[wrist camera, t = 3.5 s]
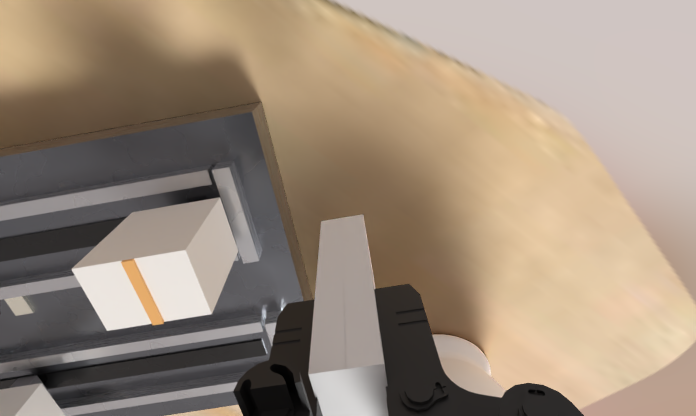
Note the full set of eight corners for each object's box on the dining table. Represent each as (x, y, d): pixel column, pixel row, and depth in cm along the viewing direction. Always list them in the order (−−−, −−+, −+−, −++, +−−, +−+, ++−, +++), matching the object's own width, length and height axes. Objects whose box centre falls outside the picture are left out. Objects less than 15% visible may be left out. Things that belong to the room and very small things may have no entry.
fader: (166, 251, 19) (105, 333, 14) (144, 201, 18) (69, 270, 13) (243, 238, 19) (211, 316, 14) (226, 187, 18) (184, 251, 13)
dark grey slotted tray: (2, 410, 28) (-40, 459, 25) (-188, 182, 20) (-285, 211, 17) (328, 360, 27) (328, 404, 24) (261, 101, 19) (247, 116, 16)
